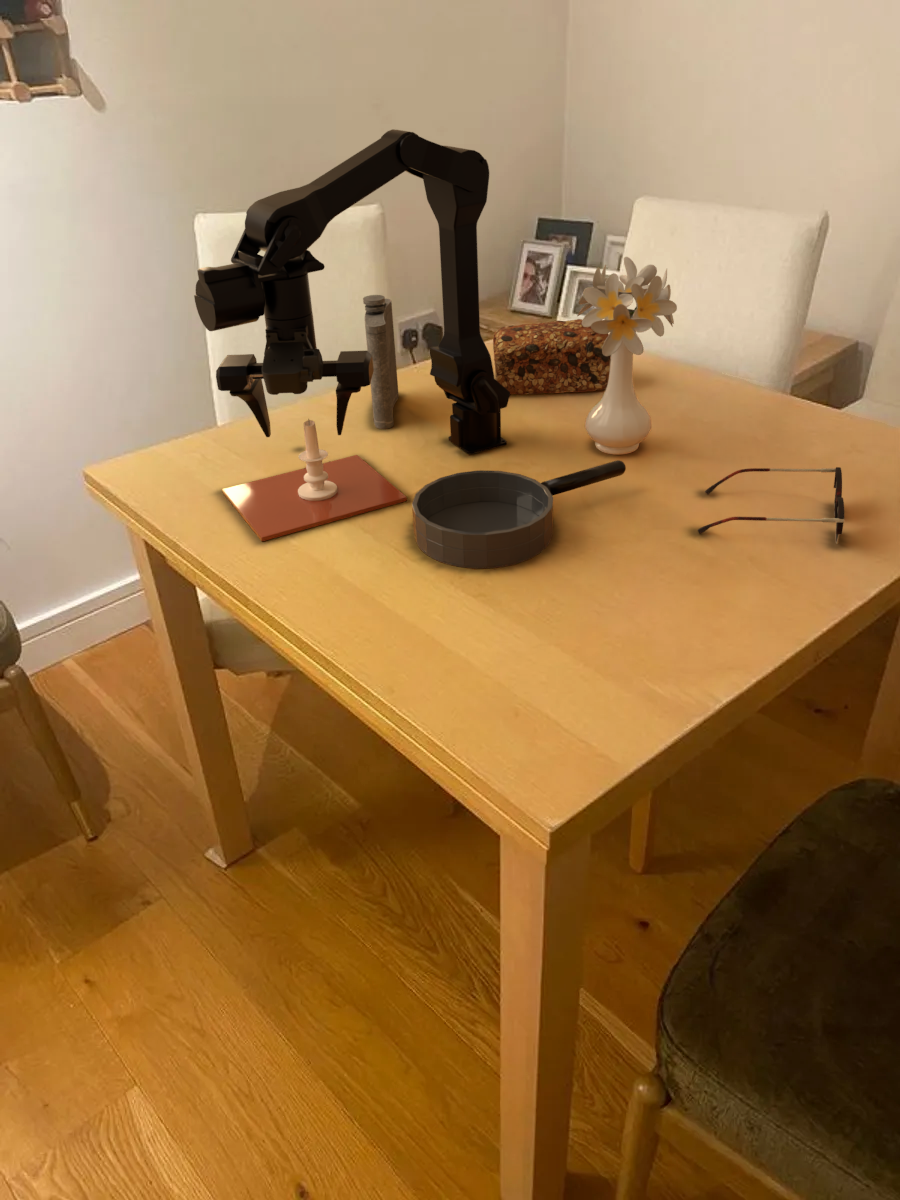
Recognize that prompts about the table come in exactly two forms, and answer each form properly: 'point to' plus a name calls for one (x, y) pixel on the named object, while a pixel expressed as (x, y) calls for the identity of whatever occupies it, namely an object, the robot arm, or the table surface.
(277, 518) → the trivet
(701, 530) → the sunglasses
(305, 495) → the candle
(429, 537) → the pan
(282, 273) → the robot arm
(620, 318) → the flower vase
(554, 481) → the pan handle
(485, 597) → the table surface
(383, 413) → the flask
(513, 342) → the bread
